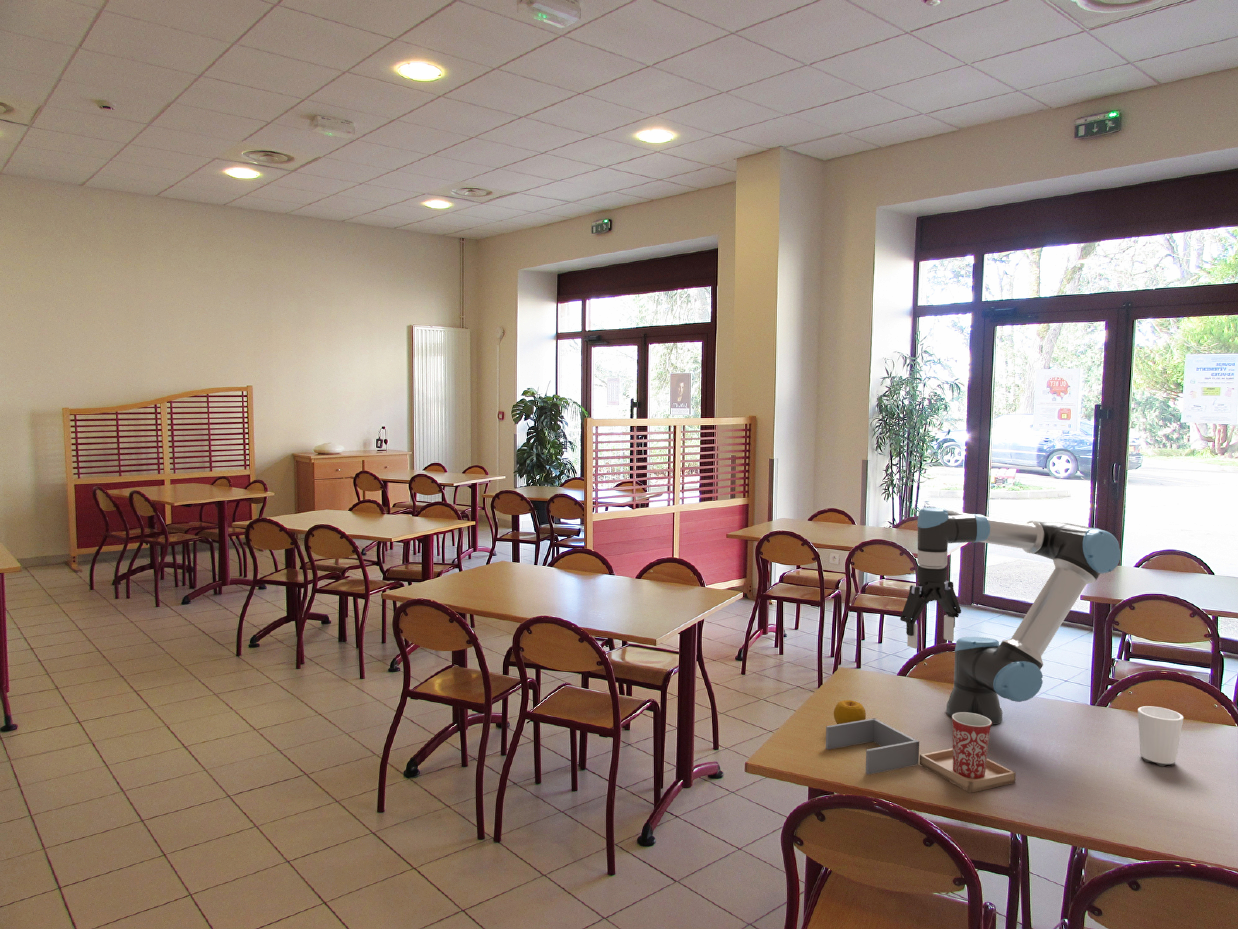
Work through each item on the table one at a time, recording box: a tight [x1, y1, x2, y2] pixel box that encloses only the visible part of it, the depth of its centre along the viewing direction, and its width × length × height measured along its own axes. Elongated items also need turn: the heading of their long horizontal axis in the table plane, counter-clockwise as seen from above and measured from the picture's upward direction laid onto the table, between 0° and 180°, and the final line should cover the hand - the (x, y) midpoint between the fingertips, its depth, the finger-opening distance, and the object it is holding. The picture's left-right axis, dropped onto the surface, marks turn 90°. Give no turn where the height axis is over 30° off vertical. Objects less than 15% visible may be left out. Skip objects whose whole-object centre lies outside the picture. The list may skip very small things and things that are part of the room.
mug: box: [951, 712, 993, 779], centre depth 201 cm, size 13×9×14 cm
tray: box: [918, 747, 1017, 794], centre depth 201 cm, size 14×16×2 cm
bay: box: [825, 717, 920, 776], centre depth 210 cm, size 16×17×6 cm
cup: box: [1137, 705, 1184, 767], centre depth 209 cm, size 10×10×13 cm
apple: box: [833, 699, 867, 725], centre depth 225 cm, size 8×8×9 cm
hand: (930, 643), depth 220 cm, fingers open, 13 cm apart
